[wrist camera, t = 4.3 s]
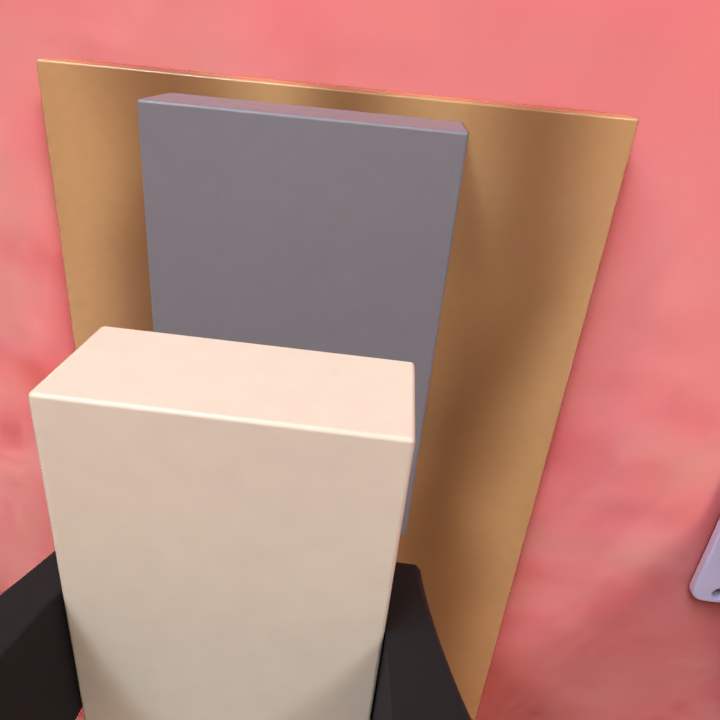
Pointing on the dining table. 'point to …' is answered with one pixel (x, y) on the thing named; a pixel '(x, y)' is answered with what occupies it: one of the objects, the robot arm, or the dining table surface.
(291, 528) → the cream book
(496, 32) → the dining table surface
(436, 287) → the grey stack
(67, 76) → the shelf board
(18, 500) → the dining table surface
